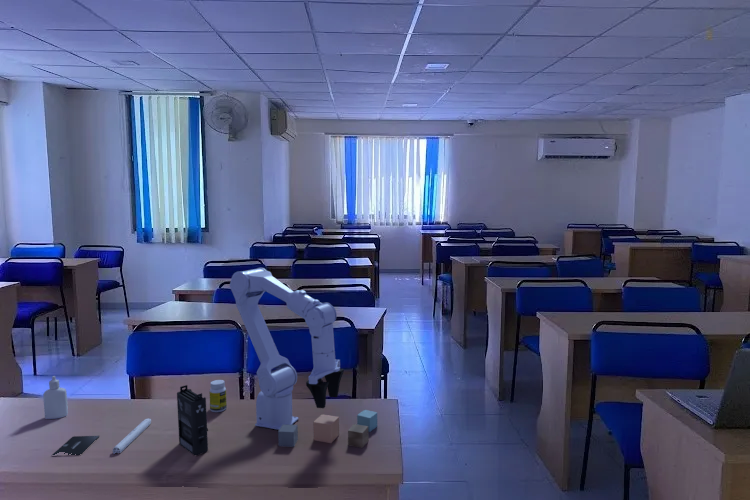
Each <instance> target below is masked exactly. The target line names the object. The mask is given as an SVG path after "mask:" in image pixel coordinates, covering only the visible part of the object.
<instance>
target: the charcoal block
mask: <svg viewBox="0 0 750 500" xmlns="http://www.w3.org/2000/svg"><path fill="white" fill-rule="evenodd" d="M298 429H299V427H298V424H292V425H285V424H282V426H281V428H280V429H279V430H278V431H277V434H278V438H277V439H278V442H277V443H278V447H286V448H287V447H289V448H290V447H291V448H295V446H296V445H297V442H298V441H299V432H298Z"/></svg>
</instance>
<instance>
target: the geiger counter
mask: <svg viewBox="0 0 750 500" xmlns="http://www.w3.org/2000/svg"><path fill="white" fill-rule="evenodd" d="M176 401H177V404H176V406H177V421H178V422H177V423H178V424H177V425H178V441H179V442H178V445H180V446H181V447H182V448H184V449H185V450H186V451H187V452H189V453H190V454H191V455H193V456H195V457H196V456H199V455H202V454H204V453H207V452H208V451H209V442H208V441H209V440H208V439H209V437H208V432H209V429H208V420H207V419H208V418H207V398H206V397H205V396H204V397H203V393H202V392H201V393H198V394H197V393H195V392H193V390H192V389H191V388H188V384H186V385H181V386H180V387H179V391H177V393H176Z"/></svg>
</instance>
